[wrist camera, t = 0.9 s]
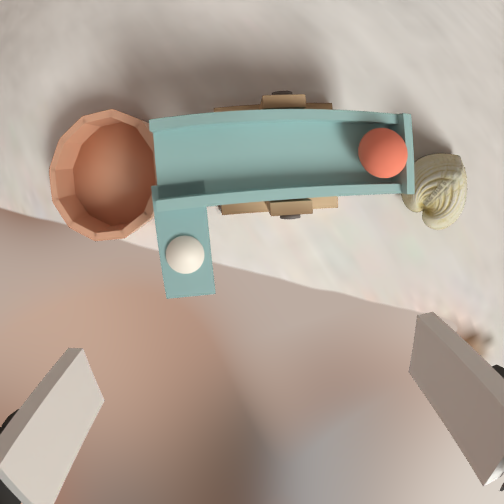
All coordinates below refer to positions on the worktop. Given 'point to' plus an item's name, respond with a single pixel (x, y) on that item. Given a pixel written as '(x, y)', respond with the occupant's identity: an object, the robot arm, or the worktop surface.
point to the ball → (382, 152)
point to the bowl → (105, 175)
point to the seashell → (438, 189)
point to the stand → (288, 206)
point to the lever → (255, 173)
